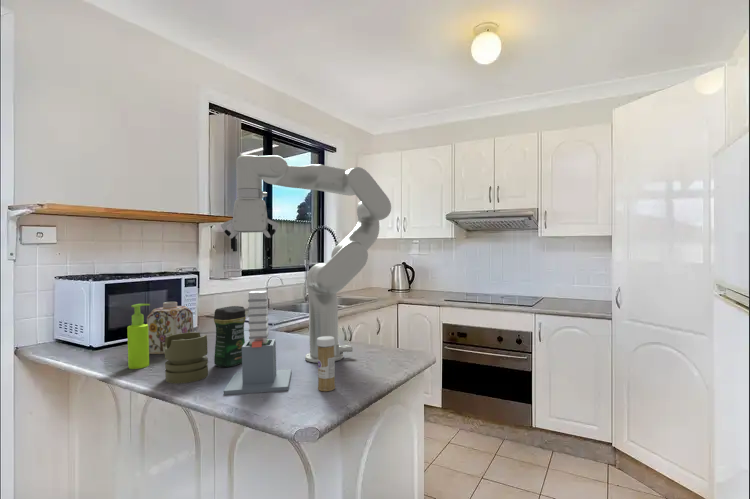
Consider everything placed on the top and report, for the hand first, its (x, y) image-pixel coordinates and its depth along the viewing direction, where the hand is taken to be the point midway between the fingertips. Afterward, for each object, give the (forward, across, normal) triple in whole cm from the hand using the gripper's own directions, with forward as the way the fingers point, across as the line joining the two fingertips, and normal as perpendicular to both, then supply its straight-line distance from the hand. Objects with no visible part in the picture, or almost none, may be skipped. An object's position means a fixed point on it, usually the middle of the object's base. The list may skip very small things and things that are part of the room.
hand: (251, 251), depth 131 cm
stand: (+36, -4, +16) cm, 40 cm away
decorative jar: (+37, +34, -30) cm, 58 cm away
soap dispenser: (+36, +37, -10) cm, 53 cm away
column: (+29, -4, +16) cm, 34 cm away
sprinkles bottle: (+36, -22, +25) cm, 49 cm away
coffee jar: (+36, +8, -6) cm, 38 cm away
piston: (+37, +18, +6) cm, 41 cm away
